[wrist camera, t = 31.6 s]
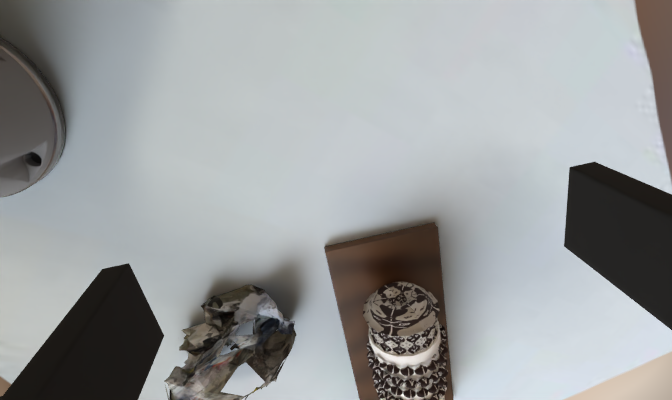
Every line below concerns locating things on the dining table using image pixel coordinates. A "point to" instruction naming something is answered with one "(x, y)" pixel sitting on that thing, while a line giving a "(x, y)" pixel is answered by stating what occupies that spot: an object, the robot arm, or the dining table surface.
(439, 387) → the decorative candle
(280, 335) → the foil
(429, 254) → the walnut board
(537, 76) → the dining table surface
